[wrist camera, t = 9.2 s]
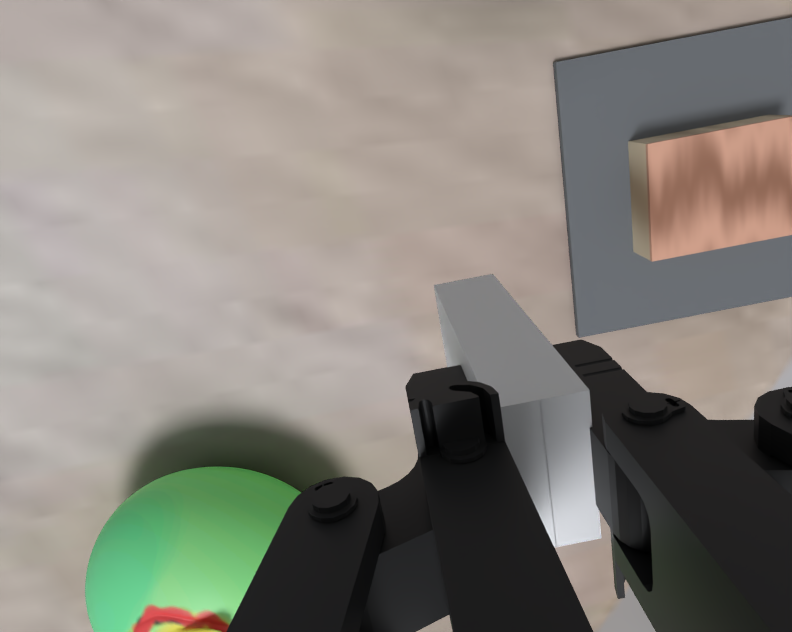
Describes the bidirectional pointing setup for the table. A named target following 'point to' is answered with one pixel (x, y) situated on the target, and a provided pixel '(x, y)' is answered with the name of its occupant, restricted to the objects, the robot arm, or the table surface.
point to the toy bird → (184, 550)
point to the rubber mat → (610, 177)
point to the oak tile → (711, 187)
